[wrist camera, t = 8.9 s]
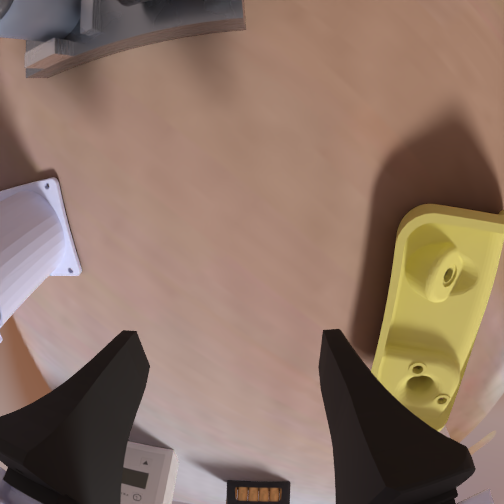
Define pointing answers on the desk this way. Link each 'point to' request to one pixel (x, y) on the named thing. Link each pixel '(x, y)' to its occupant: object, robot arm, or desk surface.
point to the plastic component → (436, 305)
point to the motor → (129, 30)
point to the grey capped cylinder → (38, 19)
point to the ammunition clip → (267, 492)
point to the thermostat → (148, 474)
